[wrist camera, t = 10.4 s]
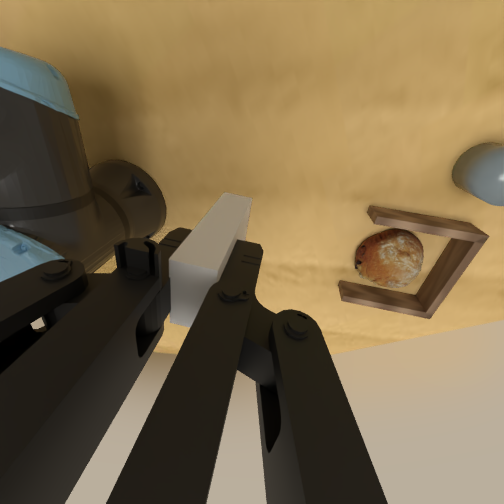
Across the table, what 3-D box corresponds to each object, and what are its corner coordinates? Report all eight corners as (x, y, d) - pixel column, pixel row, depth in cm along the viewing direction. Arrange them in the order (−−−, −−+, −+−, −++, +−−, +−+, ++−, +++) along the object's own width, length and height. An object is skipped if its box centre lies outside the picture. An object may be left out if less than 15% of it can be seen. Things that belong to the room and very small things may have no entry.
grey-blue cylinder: (442, 186, 36) (468, 200, 30) (468, 139, 33) (502, 145, 27) (488, 194, 35) (523, 210, 30) (519, 146, 32) (564, 155, 27)
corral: (338, 285, 48) (341, 300, 44) (369, 205, 39) (377, 216, 35) (419, 301, 46) (429, 319, 43) (470, 222, 38) (489, 236, 34)
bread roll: (399, 263, 47) (437, 284, 40) (352, 284, 46) (383, 309, 39) (397, 216, 43) (440, 230, 36) (345, 238, 42) (379, 257, 35)
